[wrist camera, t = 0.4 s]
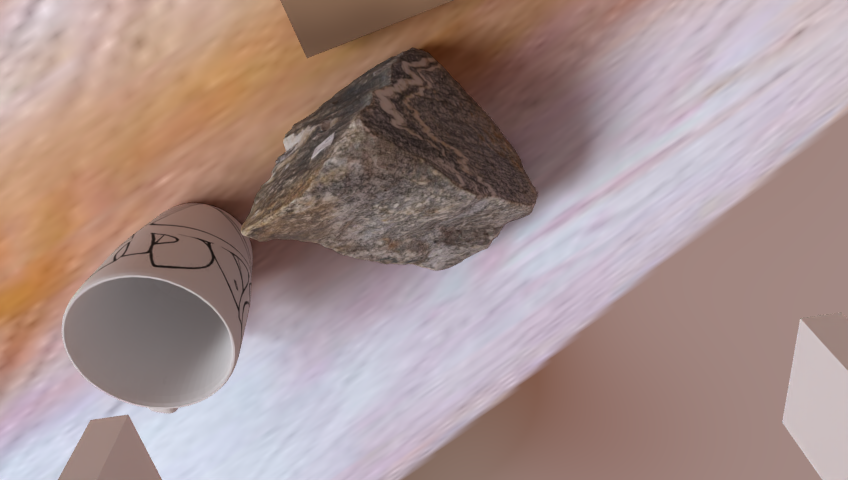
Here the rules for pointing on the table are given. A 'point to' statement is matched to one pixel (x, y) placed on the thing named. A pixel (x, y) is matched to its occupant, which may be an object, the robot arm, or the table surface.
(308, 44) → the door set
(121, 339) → the mug
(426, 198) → the rock
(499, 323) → the table surface
